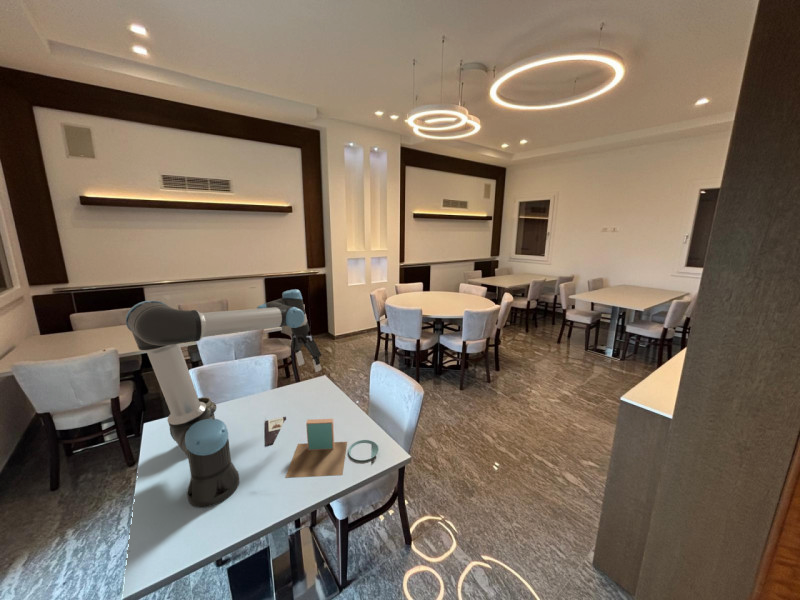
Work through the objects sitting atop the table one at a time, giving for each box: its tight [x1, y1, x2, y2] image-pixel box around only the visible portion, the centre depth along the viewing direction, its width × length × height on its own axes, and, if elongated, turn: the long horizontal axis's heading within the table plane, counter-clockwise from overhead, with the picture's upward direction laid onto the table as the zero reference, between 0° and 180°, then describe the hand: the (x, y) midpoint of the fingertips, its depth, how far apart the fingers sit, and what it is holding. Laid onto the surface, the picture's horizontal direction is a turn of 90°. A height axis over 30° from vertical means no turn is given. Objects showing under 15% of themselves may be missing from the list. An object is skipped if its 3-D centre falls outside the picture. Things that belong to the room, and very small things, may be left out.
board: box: [285, 441, 348, 479], centre depth 119 cm, size 20×18×1 cm
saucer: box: [347, 439, 380, 462], centre depth 123 cm, size 12×12×2 cm
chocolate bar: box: [264, 416, 287, 447], centre depth 137 cm, size 9×1×18 cm
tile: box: [305, 418, 335, 450], centre depth 123 cm, size 10×3×12 cm, turn 94°
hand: (309, 367), depth 143 cm, fingers open, 13 cm apart
